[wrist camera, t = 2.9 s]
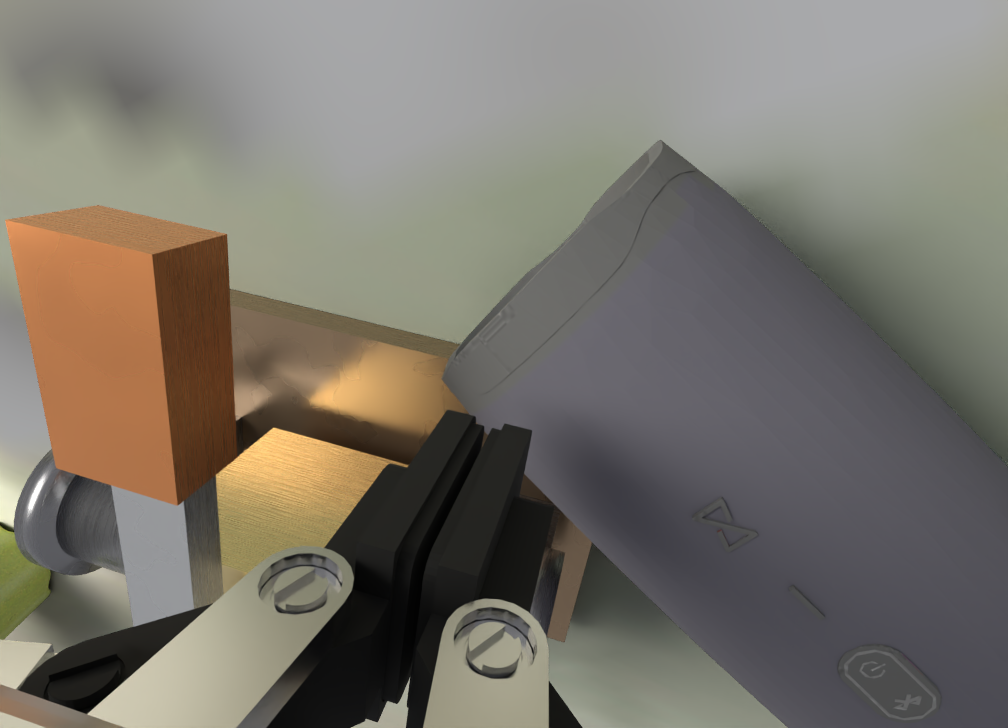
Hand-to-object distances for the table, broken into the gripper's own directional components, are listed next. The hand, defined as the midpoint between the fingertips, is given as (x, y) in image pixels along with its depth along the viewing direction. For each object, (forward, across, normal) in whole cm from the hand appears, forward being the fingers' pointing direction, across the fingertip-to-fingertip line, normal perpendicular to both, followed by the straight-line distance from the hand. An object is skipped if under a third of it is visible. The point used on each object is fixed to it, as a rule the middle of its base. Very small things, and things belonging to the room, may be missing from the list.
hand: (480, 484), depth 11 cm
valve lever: (0, +7, +3) cm, 8 cm away
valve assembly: (+12, +7, +9) cm, 16 cm away
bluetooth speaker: (+11, -9, +3) cm, 15 cm away
